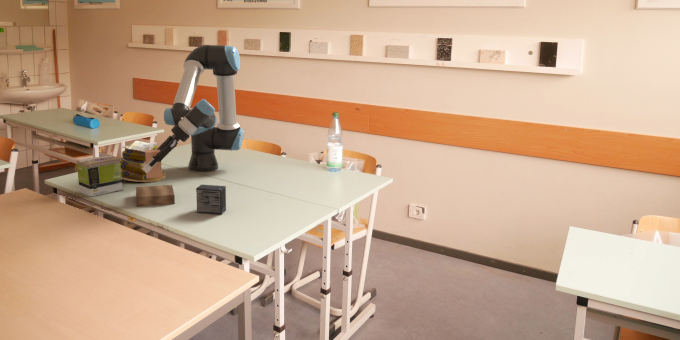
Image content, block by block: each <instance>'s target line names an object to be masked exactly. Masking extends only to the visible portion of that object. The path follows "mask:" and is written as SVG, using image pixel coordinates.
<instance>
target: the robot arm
mask: <svg viewBox="0 0 680 340" xmlns="http://www.w3.org/2000/svg"><path fill="white" fill-rule="evenodd" d="M240 69H241V57H240V54H239V50H238V48H237V47H235V46H234V45H232V46H230V45H226V44H225V45H222V44H221V45H219V44H218V45H216V44H214V45H213V44H203V45H200V46H197V47H195V48H194V49H193V50H192V51H191V52H189V54H188V55H187V57H185V60H184V63H183V72H182V73H183V74H182V76H181V78H180V79H181V80H180V82H179V85H178V88H177V92H176V94H175V98H174V101H173V104H172V107H167V108H165V110H164V112H163V121H164V123H165V125H168V126H172V128H171V130H170V131H171V132H172V135H169V136H168V137H167V138H166V139H165V140H164V142H162V143H161V144H160V145H159V146H157V149H156V150H160V152H159V153H158V154H157V155H156V156H155V157H154V156H153V158H152V159H151V160H150V161H149V162H148V163H147V164H146V162H145V163H144V164H143V165H142V167H143V168H142V170H144V171H145V172H146V173H148V172H149V171H150V170H151V169H152V168H153V167H154V166H155V165H156V164H157V163H158V162H161V163H162V161H163V160H164V158H165V157H166V156H167V155H168V154H170V152H172V150H174V149H175V148H176V147H177V145H178V143H179V141H181V142H182V143H186V141H188V139H189V138H190V139H191V141H190V143H191V154H190V155H191V156H190V159H189V161H188V169H189V170H190V171H193V172H202V173H203V172H205V173H206V172H212V171H216V170H218V169H219V162H218V160H217V157H216V154H215V151H216V150H218V151H231V152H232V151H240V149H241V148H242V146H243V142H244V133H245V132H244V131H245V130H244V128H242V127H241V125H240V123H239V122H238V120H237V107H236V106H237V105H236V102H237V101H236V88H235V77H236V76H237V74H238V72H239V71H240ZM205 70H211V71H212V75H213V76H214V77H216V89H217V92H216V93H217V103H218V104H217V105H218V118H219V119H218V118H217V115H216V114H215V112H216V109H215V107H214V106H213V105H211V103H210V102H208V100H207V99H205V98H202V99H201V100H199V101H198V102H196V104H195V105H194V106H193V107H192V108H191V106H192V104H193V100H194V97H195V93H196V90H197V87H198V83H199V81H200V78H201V75H202V74H203V73H204V72H205ZM218 120H219V122H218Z"/></svg>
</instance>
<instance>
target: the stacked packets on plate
mask: <svg viewBox="0 0 680 340" xmlns="http://www.w3.org/2000/svg"><path fill="white" fill-rule="evenodd" d="M157 148H158V143H157V142H156V141H153V142H148V141H141V140H140V141H139V140H135V141H134V142H132V143H130V144H129V145H127V146H126V147H124V150H123V151H122V152H121V155H122V156H121V157H119V159H120V165H121V176H122V180H124V181H128V182H129V181H130V182H139V183H148V182H149V183H151V182H158V181H161V180H163V179H165V178H166V176H167V174H166V172H165V171H163V170H162V178H147V177H146V172H145V171H144V170H142V168H143V167H142V165H143V164H144V163H145V162H146V157H145V150H156V149H157Z"/></svg>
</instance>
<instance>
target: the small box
mask: <svg viewBox="0 0 680 340" xmlns="http://www.w3.org/2000/svg"><path fill="white" fill-rule="evenodd" d="M195 190H196V213H197V214H209V215H223V214H224V212H226V211H227V193H226V192H227V190H226V185H213V184H200V185H199V186H198V187H196V188H195Z"/></svg>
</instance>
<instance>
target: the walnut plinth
mask: <svg viewBox="0 0 680 340" xmlns="http://www.w3.org/2000/svg"><path fill="white" fill-rule="evenodd" d="M135 201H136V204H135V205H136V207H149V206H161V205H162V206H163V205H175V203H176V202H175V201H176V200H175V191H174V188H173V184H166V185H165V184H164V185H163V184H162V185H147V186H136V187H135Z"/></svg>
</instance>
